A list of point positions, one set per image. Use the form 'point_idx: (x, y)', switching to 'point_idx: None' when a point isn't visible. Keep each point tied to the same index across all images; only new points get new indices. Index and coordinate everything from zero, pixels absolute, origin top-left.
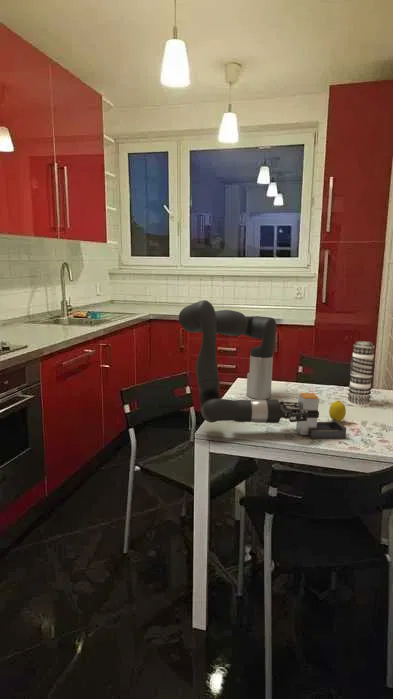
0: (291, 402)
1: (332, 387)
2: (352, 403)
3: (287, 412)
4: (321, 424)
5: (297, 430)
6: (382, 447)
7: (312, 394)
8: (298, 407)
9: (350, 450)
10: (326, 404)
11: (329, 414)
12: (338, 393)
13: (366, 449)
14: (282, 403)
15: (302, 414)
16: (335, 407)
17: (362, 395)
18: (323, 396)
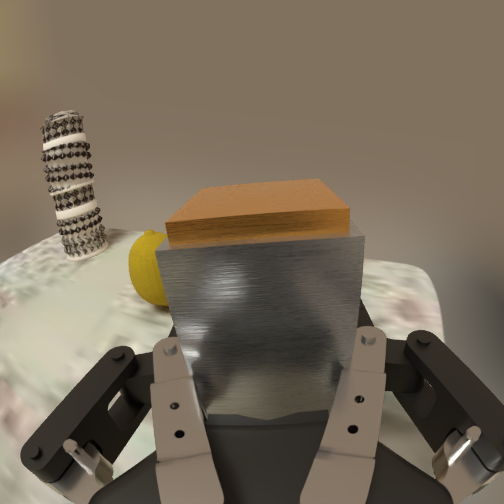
0: (87, 383)
1: (9, 262)
2: (84, 255)
3: (452, 501)
4: None
5: None
6: (373, 264)
7: (248, 187)
8: (213, 375)
9: (430, 317)
10: (48, 289)
11: (147, 296)
12: (30, 262)
13: (403, 288)
14: (58, 464)
15: (457, 365)
16: None
17: (95, 226)
18: (18, 281)
